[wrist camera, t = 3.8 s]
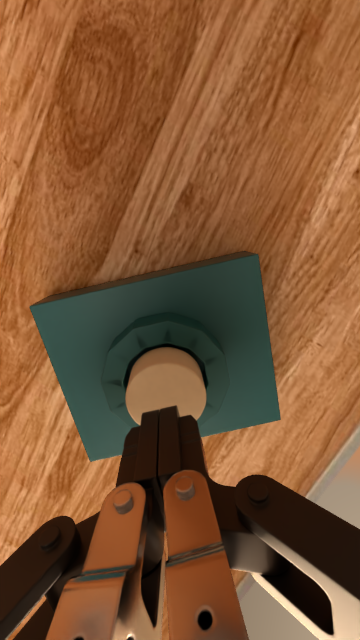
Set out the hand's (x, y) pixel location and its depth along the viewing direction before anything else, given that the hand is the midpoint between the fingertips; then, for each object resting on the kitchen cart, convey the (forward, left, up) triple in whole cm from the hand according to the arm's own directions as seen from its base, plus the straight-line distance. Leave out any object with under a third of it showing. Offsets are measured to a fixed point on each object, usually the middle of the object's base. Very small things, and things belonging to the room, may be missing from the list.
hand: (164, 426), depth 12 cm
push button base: (0, 0, -8) cm, 8 cm away
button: (0, 0, -4) cm, 4 cm away
